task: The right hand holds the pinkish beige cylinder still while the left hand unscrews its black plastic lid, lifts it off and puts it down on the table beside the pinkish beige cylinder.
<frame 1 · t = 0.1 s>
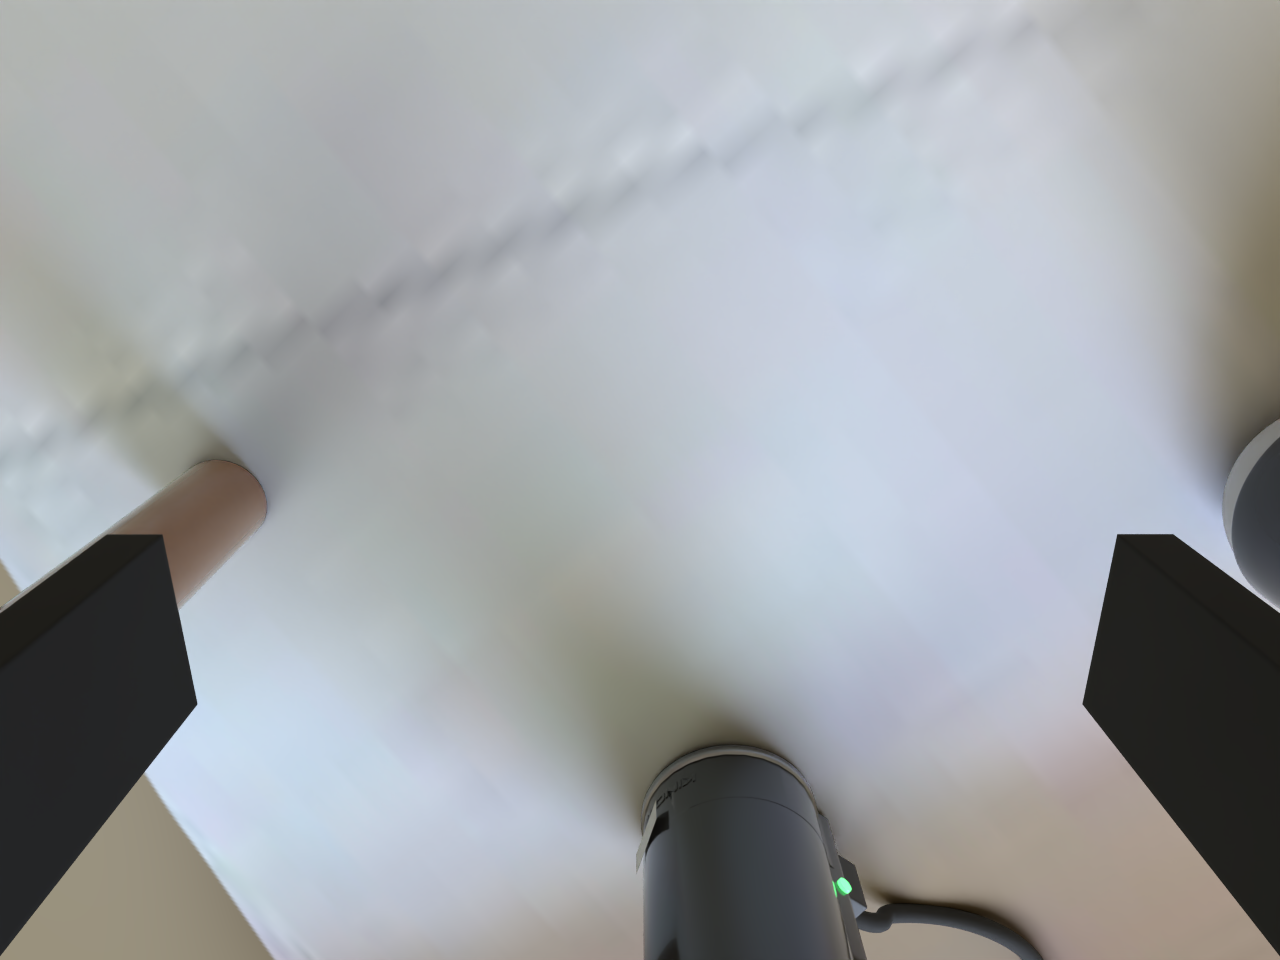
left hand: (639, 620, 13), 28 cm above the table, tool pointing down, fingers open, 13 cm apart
pinkish beige cylinder: (223, 500, 42), on the table
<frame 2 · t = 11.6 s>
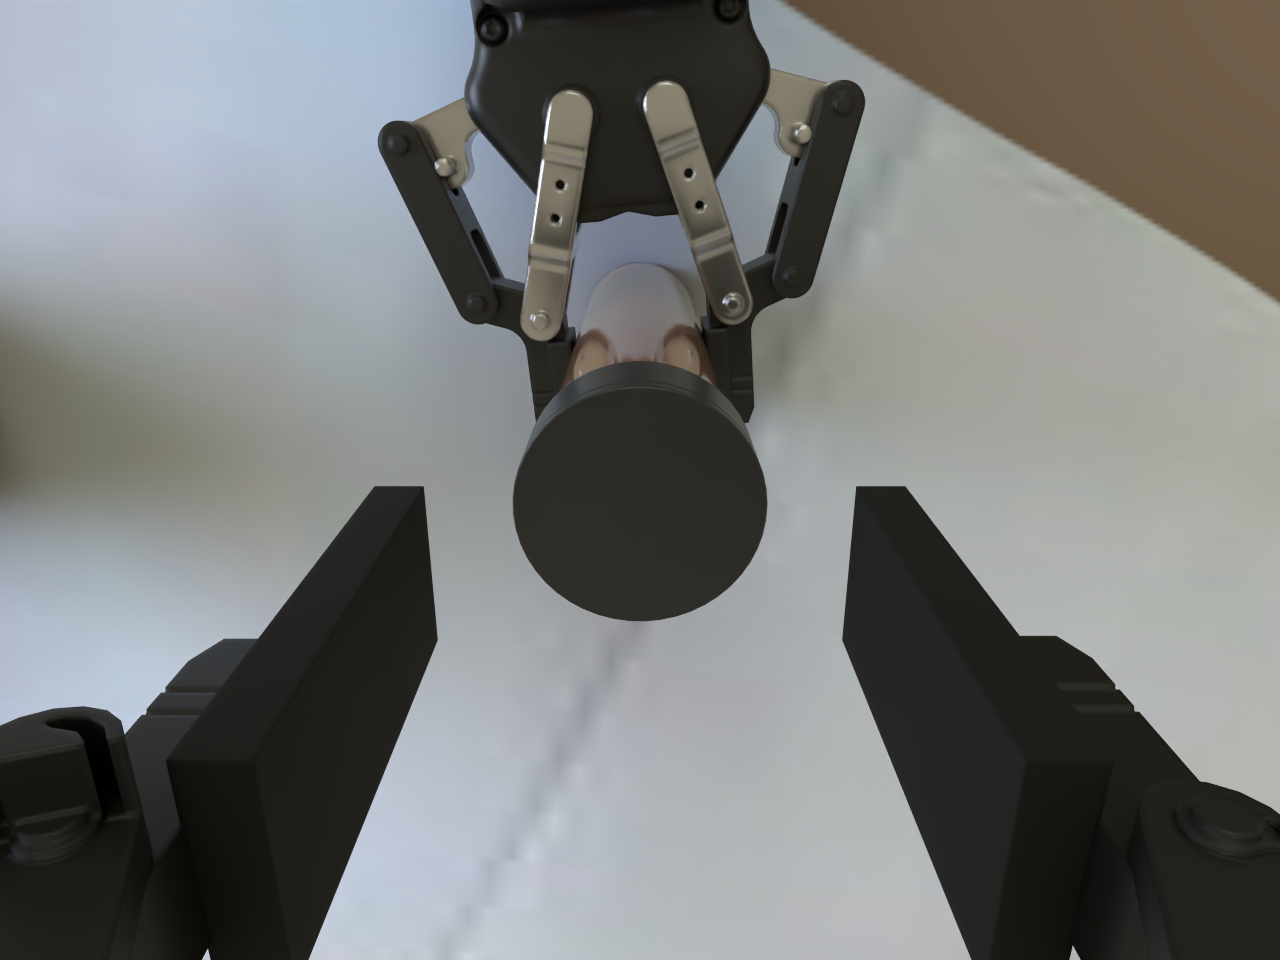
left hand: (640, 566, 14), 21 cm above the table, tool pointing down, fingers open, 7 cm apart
right hand: (648, 439, 29), fingers closed on pinkish beige cylinder, 4 cm apart
pinkish beige cylinder: (640, 317, 34), on the table, touching right hand
lid: (640, 502, 17), point 19 cm above the table, screwed on, not yet turned
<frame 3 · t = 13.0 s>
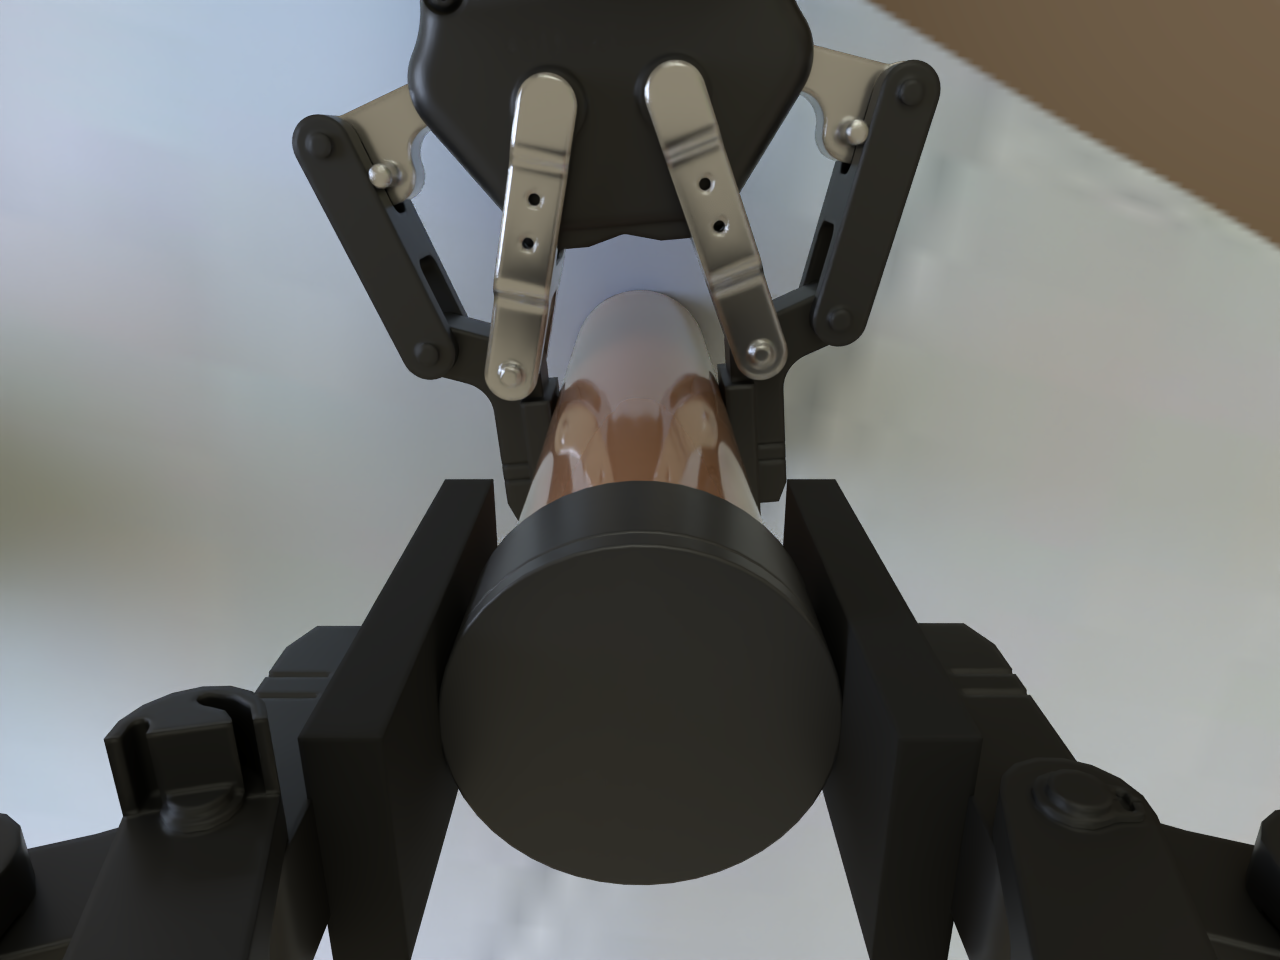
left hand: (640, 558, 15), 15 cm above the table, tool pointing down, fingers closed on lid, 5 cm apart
right hand: (650, 518, 23), fingers closed on pinkish beige cylinder, 4 cm apart
pinkish beige cylinder: (640, 355, 28), on the table, touching right hand
lid: (640, 711, 11), point 19 cm above the table, screwed on, not yet turned, touching left hand
when the left hand's fingers open (15 cm above the table, at t = 14.4 s): lid stays where it is, point 19 cm above the table.
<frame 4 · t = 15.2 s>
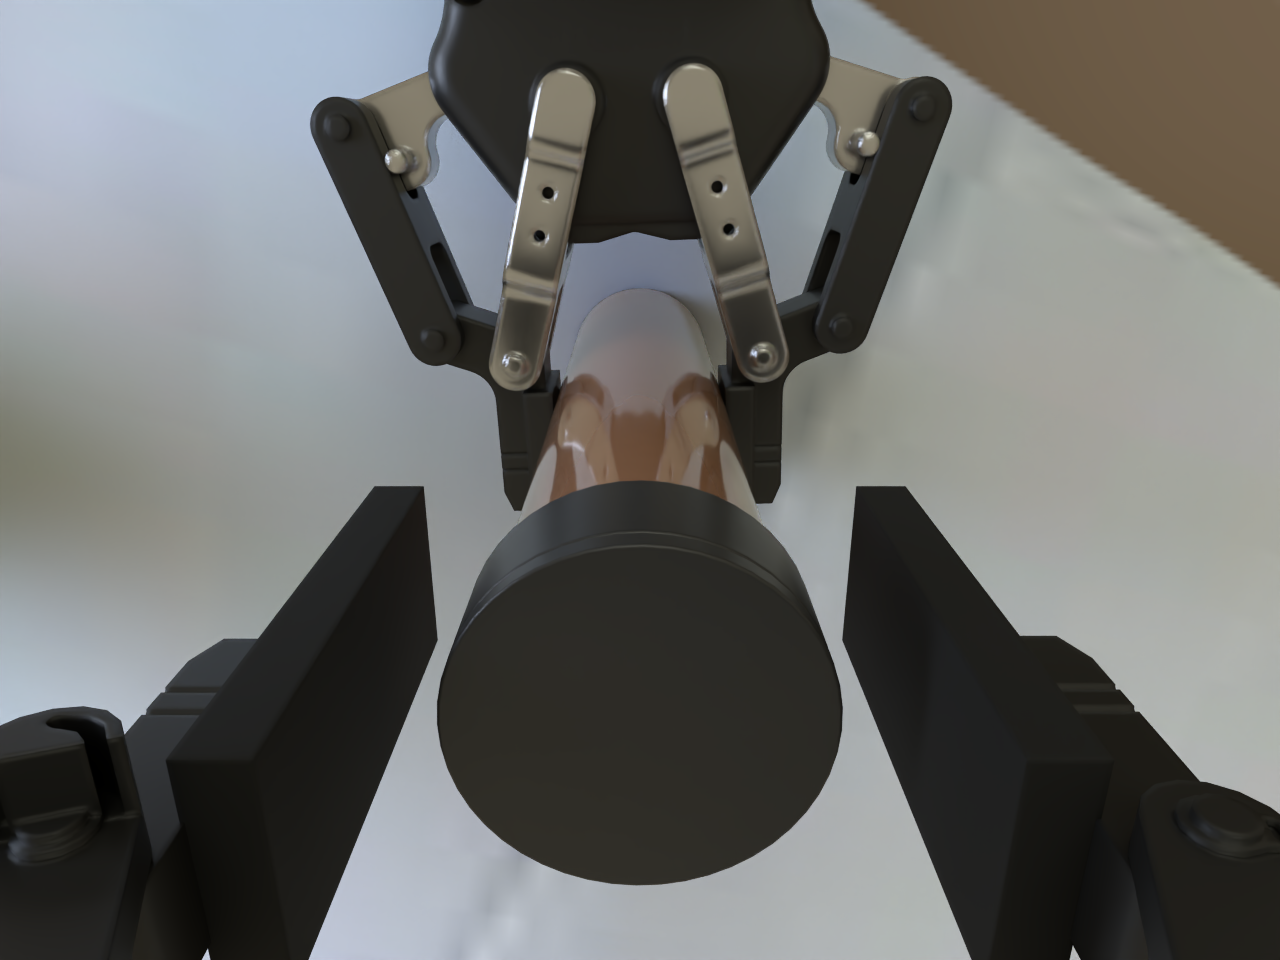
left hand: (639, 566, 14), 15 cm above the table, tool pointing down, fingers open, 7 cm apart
right hand: (644, 514, 23), fingers closed on pinkish beige cylinder, 4 cm apart
pinkish beige cylinder: (640, 353, 28), on the table, touching right hand
lid: (639, 711, 11), point 19 cm above the table, turned 82° so far, risen 0.3 cm, still on its thread
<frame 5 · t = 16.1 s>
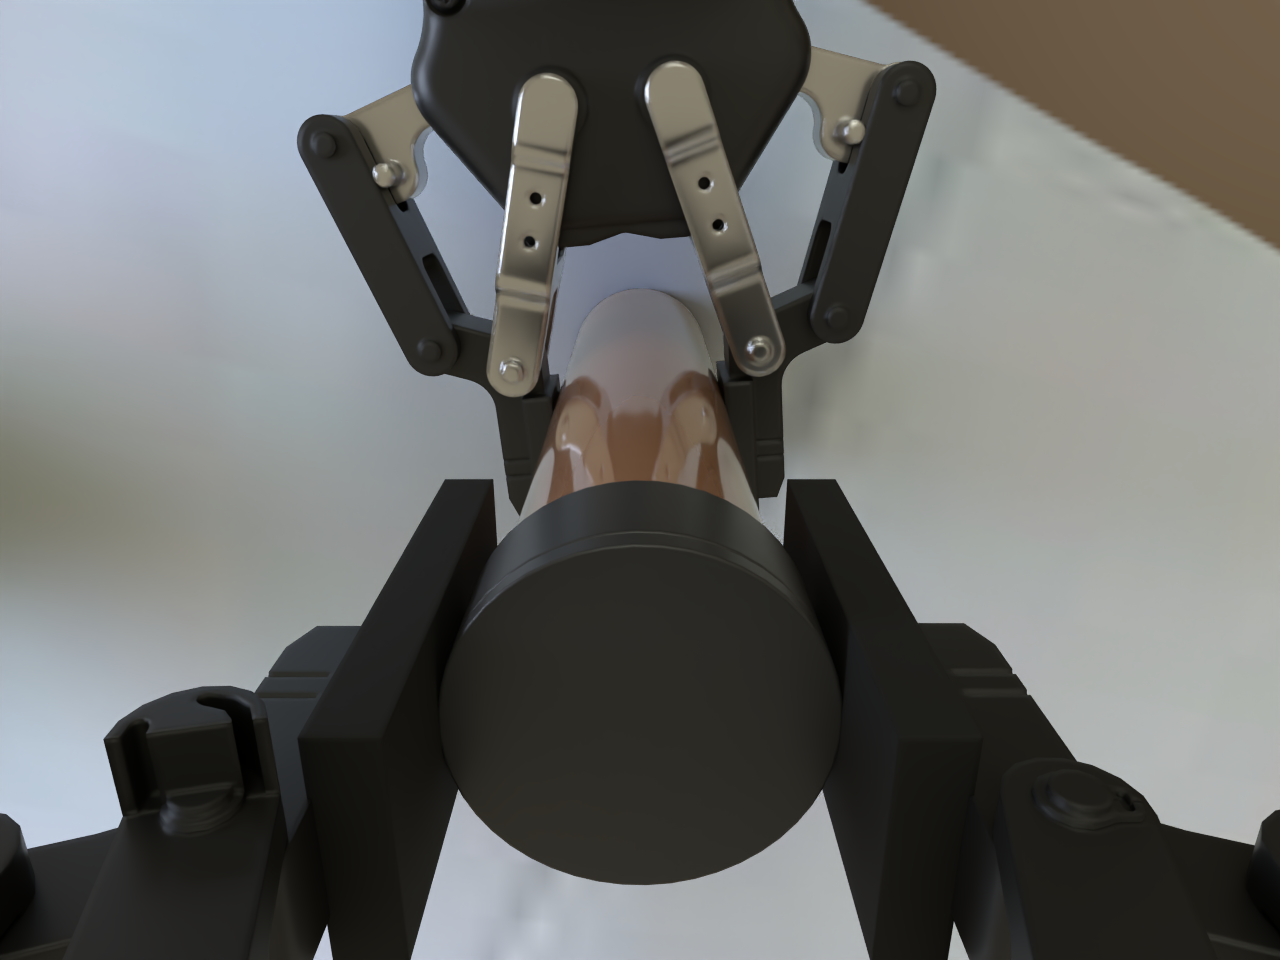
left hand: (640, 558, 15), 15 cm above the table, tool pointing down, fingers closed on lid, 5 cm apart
right hand: (650, 514, 23), fingers closed on pinkish beige cylinder, 4 cm apart
pinkish beige cylinder: (640, 353, 28), on the table, touching right hand
lid: (640, 711, 11), point 19 cm above the table, turned 82° so far, risen 0.3 cm, still on its thread, touching left hand
when the left hand's fingers open (0 cm above the table, at t = 22.3 s): lid drops 3 cm, point 2 cm above the table.
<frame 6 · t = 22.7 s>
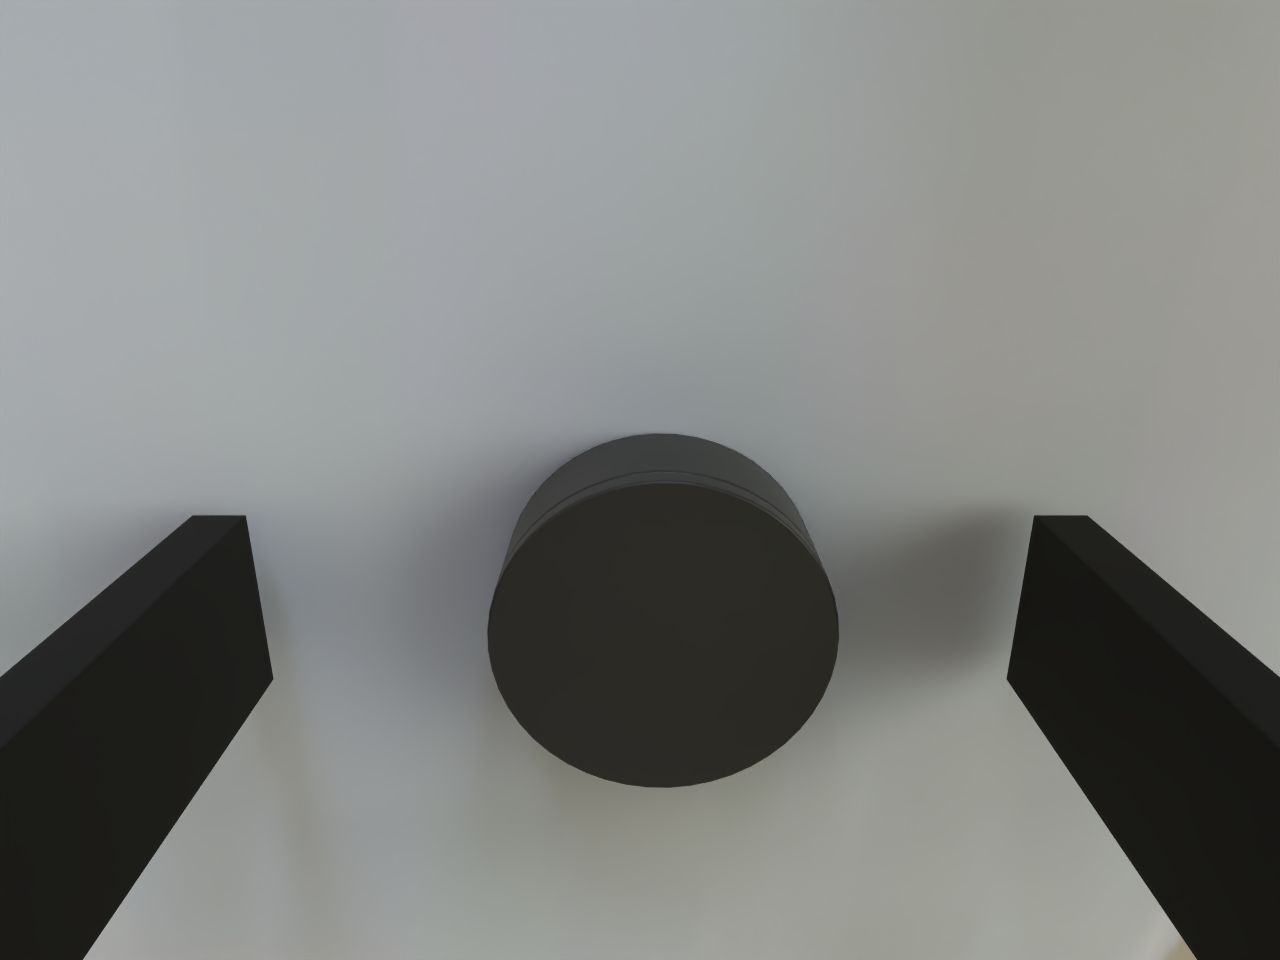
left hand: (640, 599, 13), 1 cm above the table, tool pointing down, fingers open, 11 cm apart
lid: (662, 632, 12), point 2 cm above the table, off its thread
when the right hand's fingers open (7 cm above the table, at t = 23.5 s): pinkish beige cylinder stays where it is, on the table.
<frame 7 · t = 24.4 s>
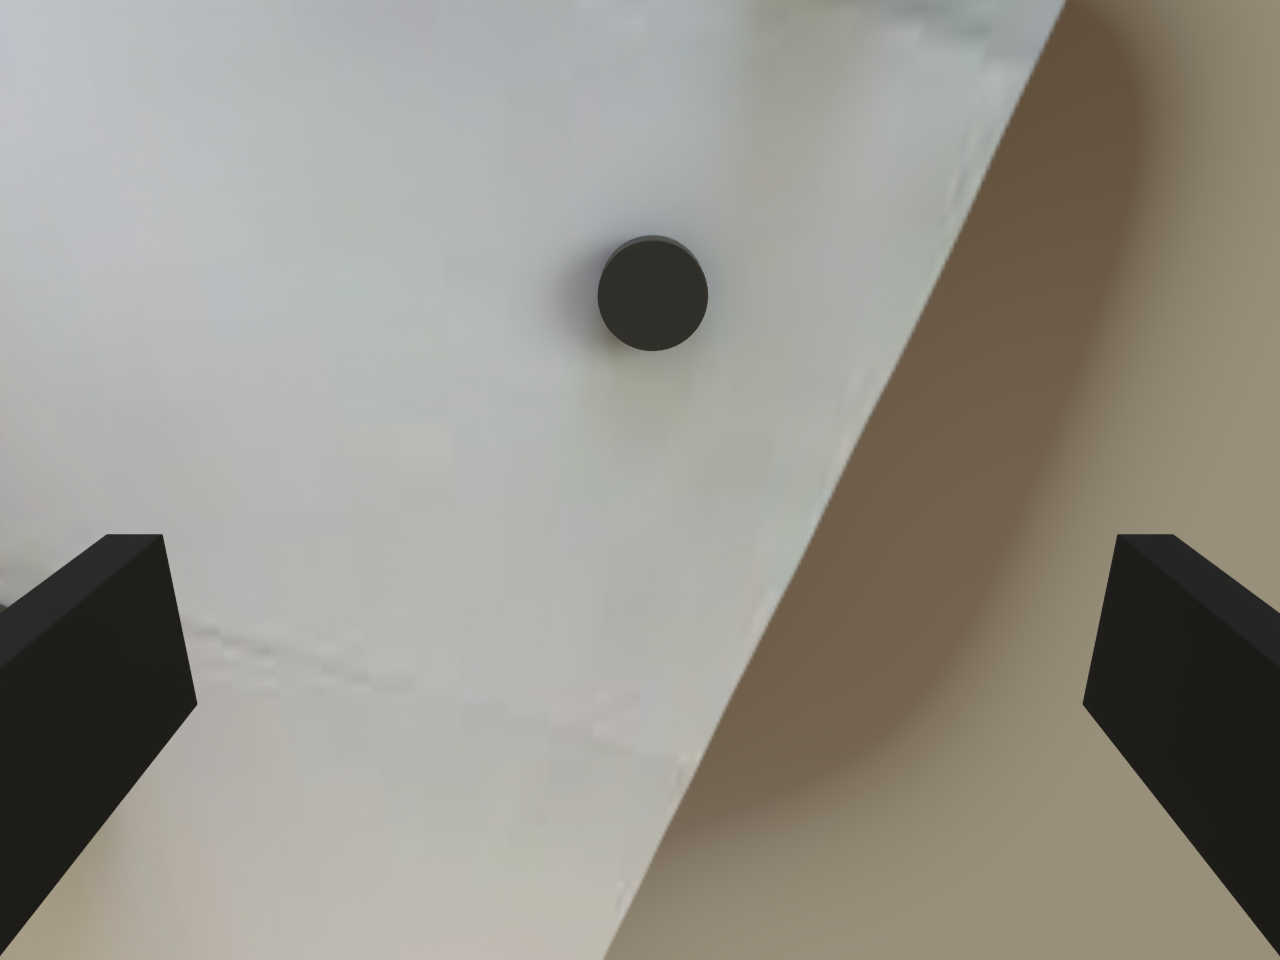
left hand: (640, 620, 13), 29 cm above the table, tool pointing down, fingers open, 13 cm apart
lid: (652, 295, 38), point 2 cm above the table, off its thread
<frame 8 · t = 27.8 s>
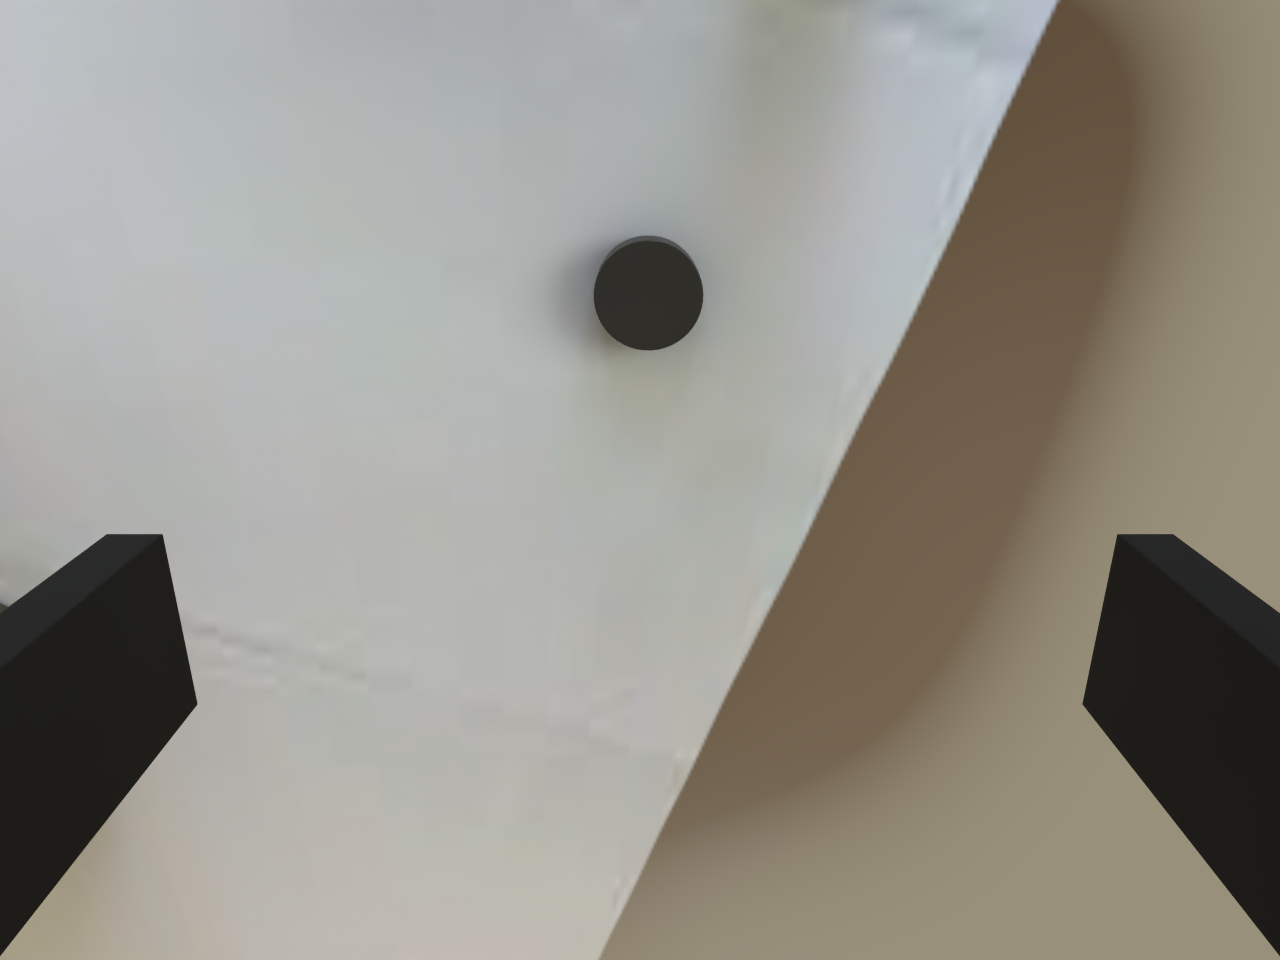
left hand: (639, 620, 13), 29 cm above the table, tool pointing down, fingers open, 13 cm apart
lid: (648, 295, 39), point 2 cm above the table, off its thread
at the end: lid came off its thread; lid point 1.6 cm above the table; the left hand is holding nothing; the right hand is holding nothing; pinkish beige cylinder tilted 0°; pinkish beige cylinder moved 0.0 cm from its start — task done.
